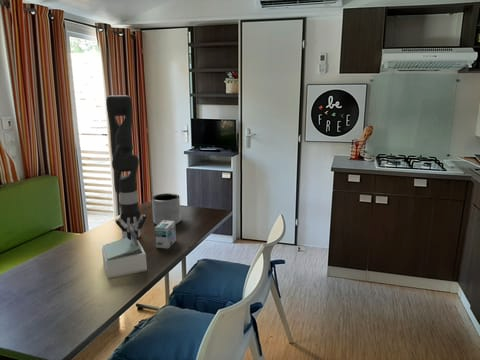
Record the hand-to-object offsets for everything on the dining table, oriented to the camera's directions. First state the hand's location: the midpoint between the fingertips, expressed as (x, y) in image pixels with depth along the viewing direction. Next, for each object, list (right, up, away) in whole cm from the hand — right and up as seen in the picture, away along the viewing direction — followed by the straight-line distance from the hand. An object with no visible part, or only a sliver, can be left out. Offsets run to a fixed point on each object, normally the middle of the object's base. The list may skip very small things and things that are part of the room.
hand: (132, 238), depth 159 cm
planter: (+4, +1, +56) cm, 56 cm away
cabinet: (-4, -13, +1) cm, 13 cm away
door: (-4, -4, -1) cm, 6 cm away
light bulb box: (+10, -7, +25) cm, 28 cm away
